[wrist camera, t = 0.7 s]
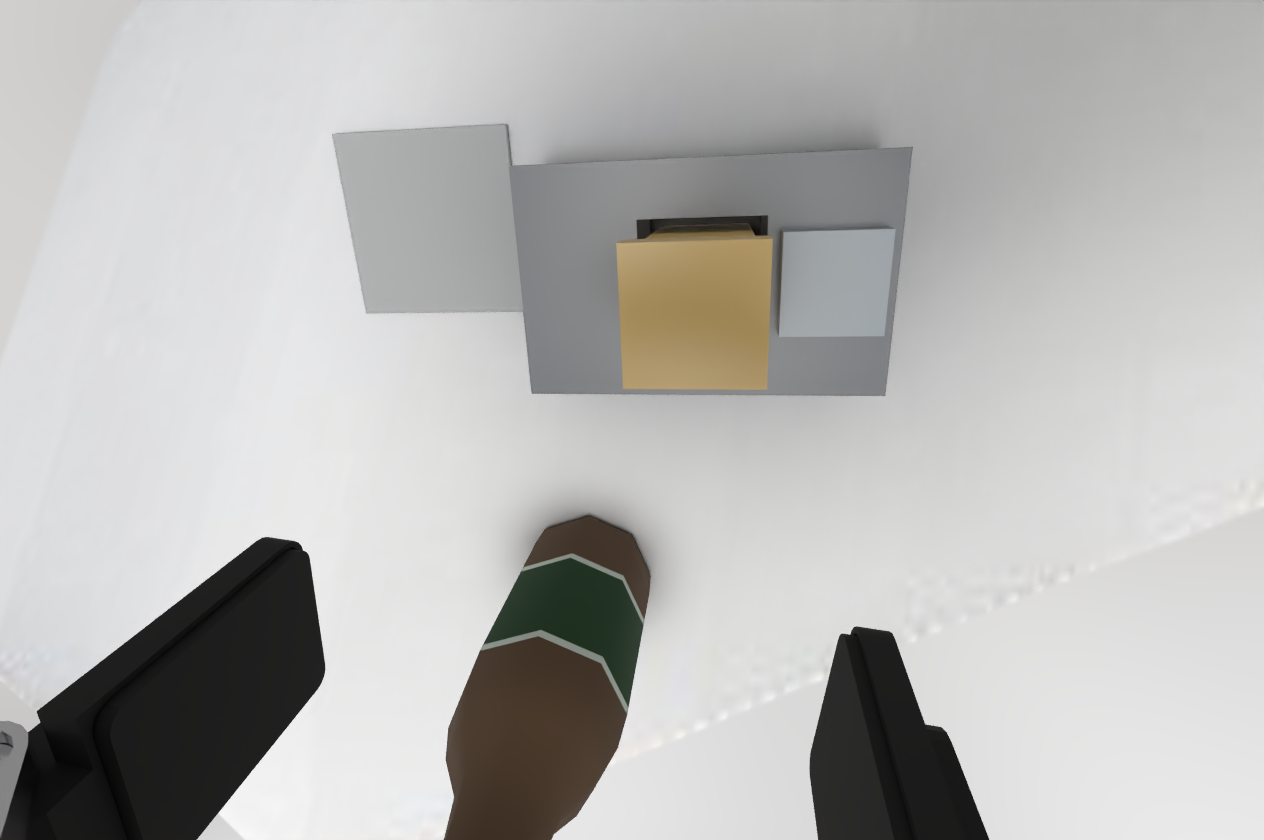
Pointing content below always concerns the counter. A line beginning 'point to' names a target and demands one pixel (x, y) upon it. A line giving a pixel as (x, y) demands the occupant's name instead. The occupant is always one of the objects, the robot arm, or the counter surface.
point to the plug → (695, 308)
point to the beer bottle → (549, 687)
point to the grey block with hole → (718, 187)
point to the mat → (432, 219)
